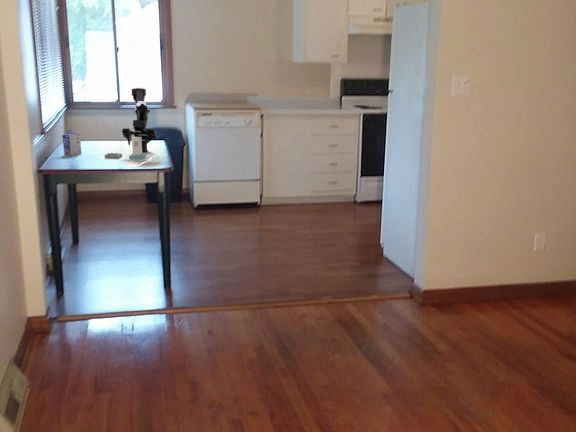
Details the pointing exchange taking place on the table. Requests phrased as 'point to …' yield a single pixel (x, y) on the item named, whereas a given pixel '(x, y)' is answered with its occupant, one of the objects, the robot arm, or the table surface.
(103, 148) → the table surface
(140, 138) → the plug
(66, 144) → the ink cartridge box
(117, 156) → the socket board
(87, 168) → the table surface
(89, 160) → the table surface
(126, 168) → the table surface
